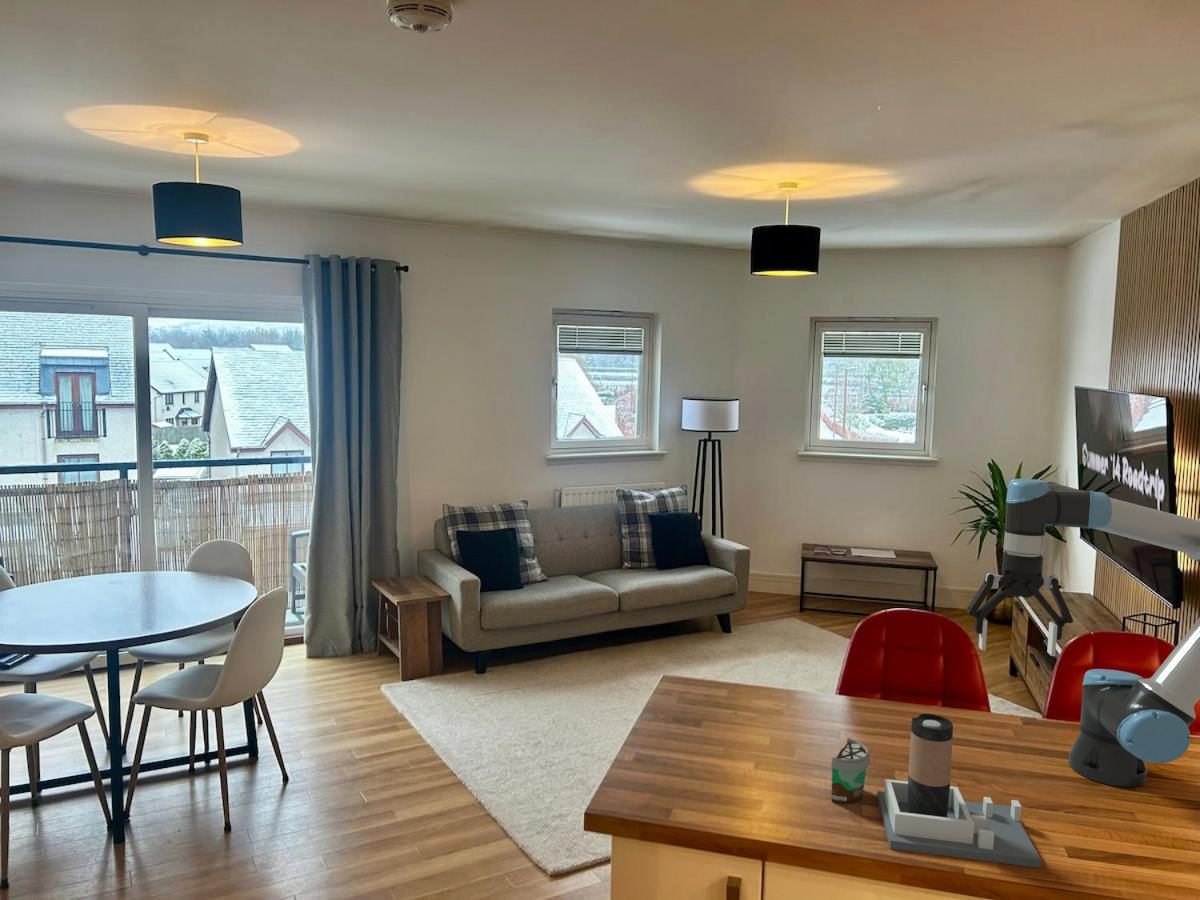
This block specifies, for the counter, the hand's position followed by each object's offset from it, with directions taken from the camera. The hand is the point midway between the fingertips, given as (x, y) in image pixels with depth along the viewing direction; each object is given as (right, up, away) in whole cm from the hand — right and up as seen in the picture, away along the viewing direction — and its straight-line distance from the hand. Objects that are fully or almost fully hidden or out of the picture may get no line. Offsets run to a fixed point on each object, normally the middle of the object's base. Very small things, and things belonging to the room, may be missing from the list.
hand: (1016, 651), depth 175 cm
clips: (-12, -30, -16) cm, 37 cm away
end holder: (-24, -30, -13) cm, 41 cm away
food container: (-35, -30, -1) cm, 47 cm away
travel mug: (-24, -30, -13) cm, 41 cm away
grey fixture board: (-19, -32, -14) cm, 40 cm away
